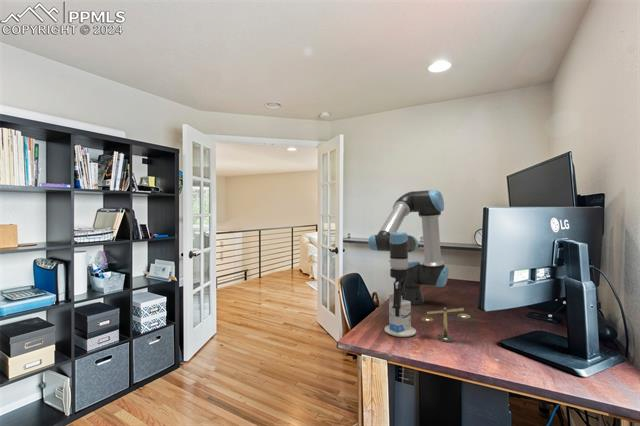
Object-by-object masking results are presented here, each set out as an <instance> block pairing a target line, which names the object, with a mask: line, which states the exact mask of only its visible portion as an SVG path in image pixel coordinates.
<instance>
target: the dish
mask: <svg viewBox="0 0 640 426" xmlns="http://www.w3.org/2000/svg"><path fill="white" fill-rule="evenodd" d="M384 332H385V333H386V334H388V335H390V336H392V337H396V338H397V337H398V338H410V337H412V336H415V335H416V334H417V330H416V329H415V328H414V327H412V326H411V329H408V330H405V331H401V332H395V331H392V330H390V329H389V324H387V325H386V326H385V327H384Z"/></svg>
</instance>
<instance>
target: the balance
mask: <svg viewBox="0 0 640 426" xmlns="http://www.w3.org/2000/svg"><path fill="white" fill-rule="evenodd" d="M464 311H465V308H464V307H460V308H451V309H448V308H447V307H446V306H445V307H443V308H442V309H440V310H431V311H430V310H429V311H426V314H427V315H431V314H432V315H433V314H442V319H443V321H442V322H443V324H442V325H443V333H441V334H440V333H439V334H437V339H438V340H439V341H440V342H444V343H454V341H455V338H454V337H455V336H453V335H451V334H448V313H451V312H453V313H455V312H464ZM457 317H458V318H461V319H470V318H471V315H470V314H467V313H458V314H457ZM421 320H422V321H424V322H433V321H434V318H432V317H430V316H423V317H421Z"/></svg>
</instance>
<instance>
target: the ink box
mask: <svg viewBox="0 0 640 426" xmlns="http://www.w3.org/2000/svg"><path fill="white" fill-rule="evenodd" d="M388 296H389V298H388V299H389V301H388V307H389V308H388V313H389V315H388V318H389V319H388V322H389V324H388V325H389V329H390V330H392V331H395V332H401V331H405V330H408V329H411V327H412V321H411V320H412V315H411V314H412V309H411V308H412V307H411V306H412V305H411V302H410V301H406V300H403V299H402V295H401V325H399V324H394V308H392V306H393V299H394V293H392V294H389V295H388Z"/></svg>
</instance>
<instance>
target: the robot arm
mask: <svg viewBox="0 0 640 426" xmlns="http://www.w3.org/2000/svg"><path fill="white" fill-rule="evenodd" d="M444 209H445V202H444V197H443V194H442V193H441V191H439V190H436V189H434V190H433V189H430V190H429V189H428V190H426V189H425V190H415V191H414V190H413V191H409V192H406V193H405V194H402V196H400V197H399V198H398V199H396V201H395V202H394V203H393V206H392V210H391V212H390V213H389V215H388V217H387V218H386V220H385V222H384V223H383V225H382V227H381V228H380V230H379V231H378V233H377V234H372V235H370V236H369V238H368V247H369V249H370V250H371V251H378V252H389V260H388V262H389V264H390V265H389V266H390V271H389V272H390V273H389V274H390V277H391V279H394V281H393V294H394V299H393V306H392V308H394V324H399V325H401V295H402V299H403V300H406V301H410V302H411V306H415V305H416V306H417V305H423V304H424V303H425V298H424V295H423V292H422V289H421V288H422V287H421V286H427V287H434V288H437V287H438V288H443V287H445V286H446V285H447V282H448V279H449V278H448V277H449V267H448V266H447V265H445V262H444V261H443V260H442V254H441V239H440V225H439V224H440V223H439V217H441V215H442V212H443V211H444ZM410 213H418V216H419V217H420V218H421V228H422V240H423V251H424V252H423V254H424V260H423V261H422V264H421V262H420V261H417V260H416V261H413V260H412V261H409V253H412V252H414V251H415V250H416V249H417V248H418V246H419V242H418V239H417V238H416V237H415V236H414V235H411V234H410V235H409V234H408V232H405V231H399V229H400V227H401V225H402V223H403V221H404V220H405V217H407V216H408V215H409V214H410Z"/></svg>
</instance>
